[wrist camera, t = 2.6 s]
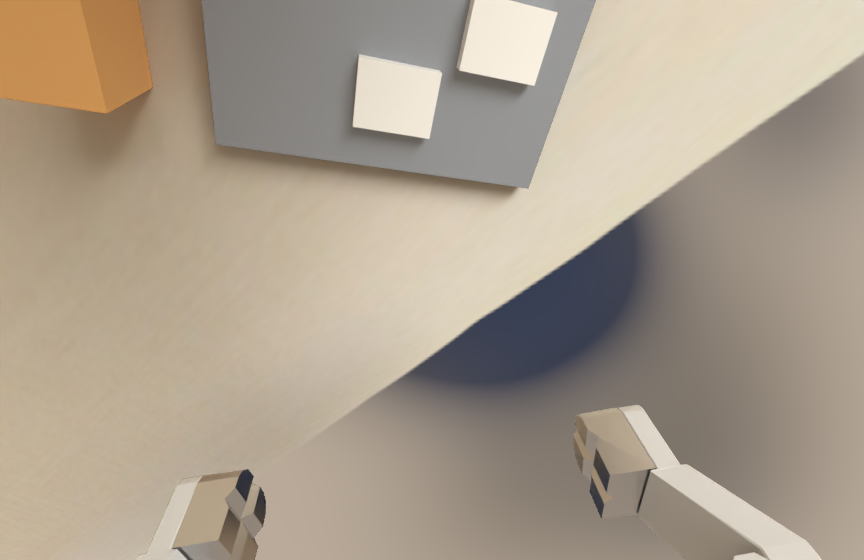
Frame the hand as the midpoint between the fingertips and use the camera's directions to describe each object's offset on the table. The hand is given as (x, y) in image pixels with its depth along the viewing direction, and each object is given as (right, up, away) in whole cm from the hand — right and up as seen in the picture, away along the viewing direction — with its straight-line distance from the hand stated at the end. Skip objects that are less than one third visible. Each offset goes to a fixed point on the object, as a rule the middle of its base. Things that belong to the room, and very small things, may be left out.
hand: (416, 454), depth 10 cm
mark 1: (-2, +16, +16) cm, 23 cm away
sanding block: (-18, +20, +12) cm, 30 cm away
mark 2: (+5, +19, +15) cm, 25 cm away
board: (-2, +19, +16) cm, 25 cm away
